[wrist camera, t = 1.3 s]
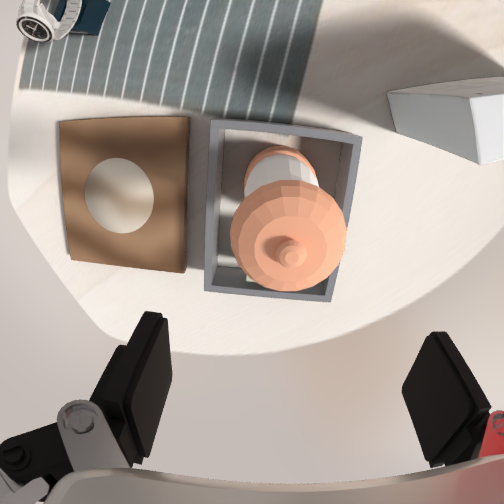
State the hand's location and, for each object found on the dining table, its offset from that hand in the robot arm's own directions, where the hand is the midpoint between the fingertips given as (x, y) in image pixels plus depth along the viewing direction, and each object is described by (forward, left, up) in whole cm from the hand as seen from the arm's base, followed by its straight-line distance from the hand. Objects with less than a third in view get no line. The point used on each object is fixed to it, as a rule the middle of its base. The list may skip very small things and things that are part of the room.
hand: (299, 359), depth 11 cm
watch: (-19, -24, -27) cm, 41 cm away
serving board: (+3, -18, -26) cm, 32 cm away
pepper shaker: (0, 0, -27) cm, 27 cm away
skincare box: (-13, +21, -27) cm, 36 cm away
